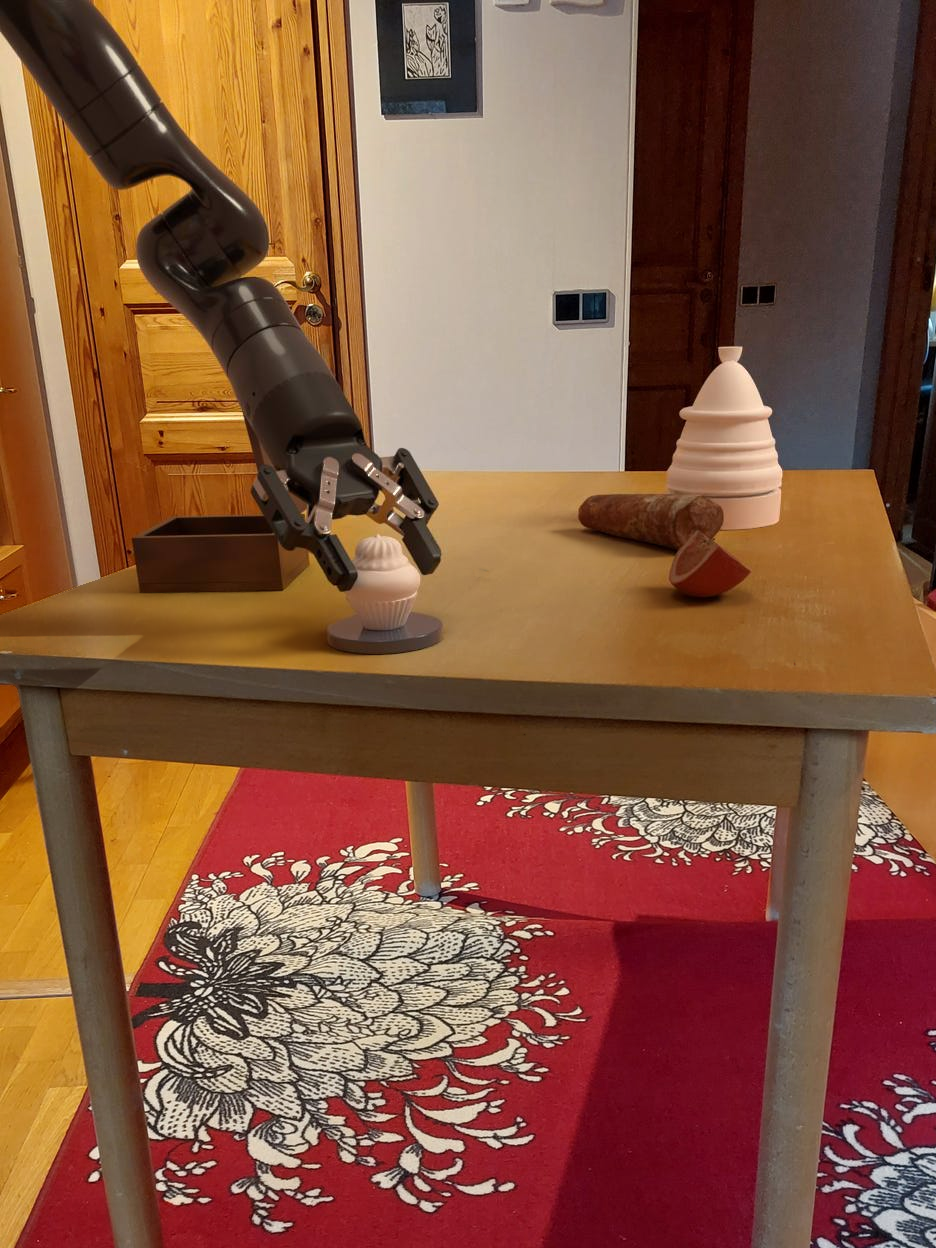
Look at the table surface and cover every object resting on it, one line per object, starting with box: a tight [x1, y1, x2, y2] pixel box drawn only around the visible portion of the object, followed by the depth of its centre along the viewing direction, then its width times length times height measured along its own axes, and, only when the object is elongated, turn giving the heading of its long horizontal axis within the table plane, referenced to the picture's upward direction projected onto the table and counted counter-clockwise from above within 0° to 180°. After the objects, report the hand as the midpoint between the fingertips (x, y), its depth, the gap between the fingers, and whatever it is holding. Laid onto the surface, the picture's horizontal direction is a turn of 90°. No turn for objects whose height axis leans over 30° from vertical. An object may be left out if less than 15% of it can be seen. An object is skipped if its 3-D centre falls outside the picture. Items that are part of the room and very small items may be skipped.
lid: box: [241, 410, 307, 514], centre depth 107 cm, size 14×12×1 cm
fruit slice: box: [668, 530, 752, 598], centre depth 99 cm, size 8×7×5 cm
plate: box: [326, 611, 444, 655], centre depth 91 cm, size 9×9×1 cm
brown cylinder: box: [577, 493, 724, 551], centre depth 123 cm, size 6×19×6 cm, turn 31°
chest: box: [131, 513, 311, 593], centre depth 112 cm, size 14×12×5 cm
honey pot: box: [664, 346, 783, 531], centre depth 129 cm, size 13×13×18 cm
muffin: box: [343, 533, 421, 631], centre depth 89 cm, size 6×6×7 cm
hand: (392, 576), depth 88 cm, fingers open, 7 cm apart
